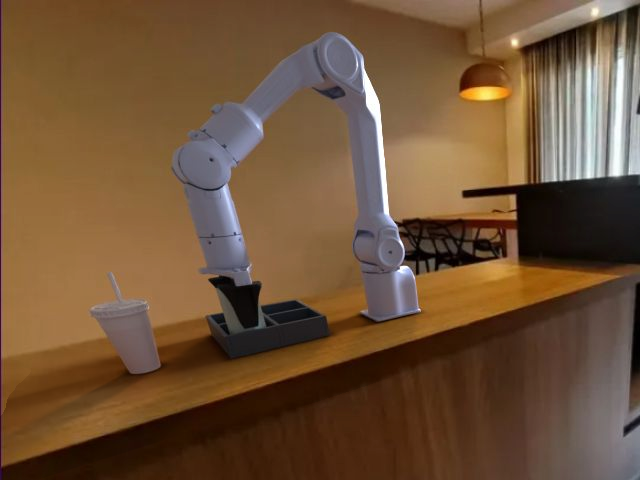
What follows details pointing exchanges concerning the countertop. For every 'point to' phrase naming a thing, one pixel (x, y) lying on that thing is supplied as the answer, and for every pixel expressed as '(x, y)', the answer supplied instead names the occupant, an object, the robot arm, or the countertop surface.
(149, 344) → the smoothie
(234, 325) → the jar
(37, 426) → the countertop surface
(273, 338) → the tray
